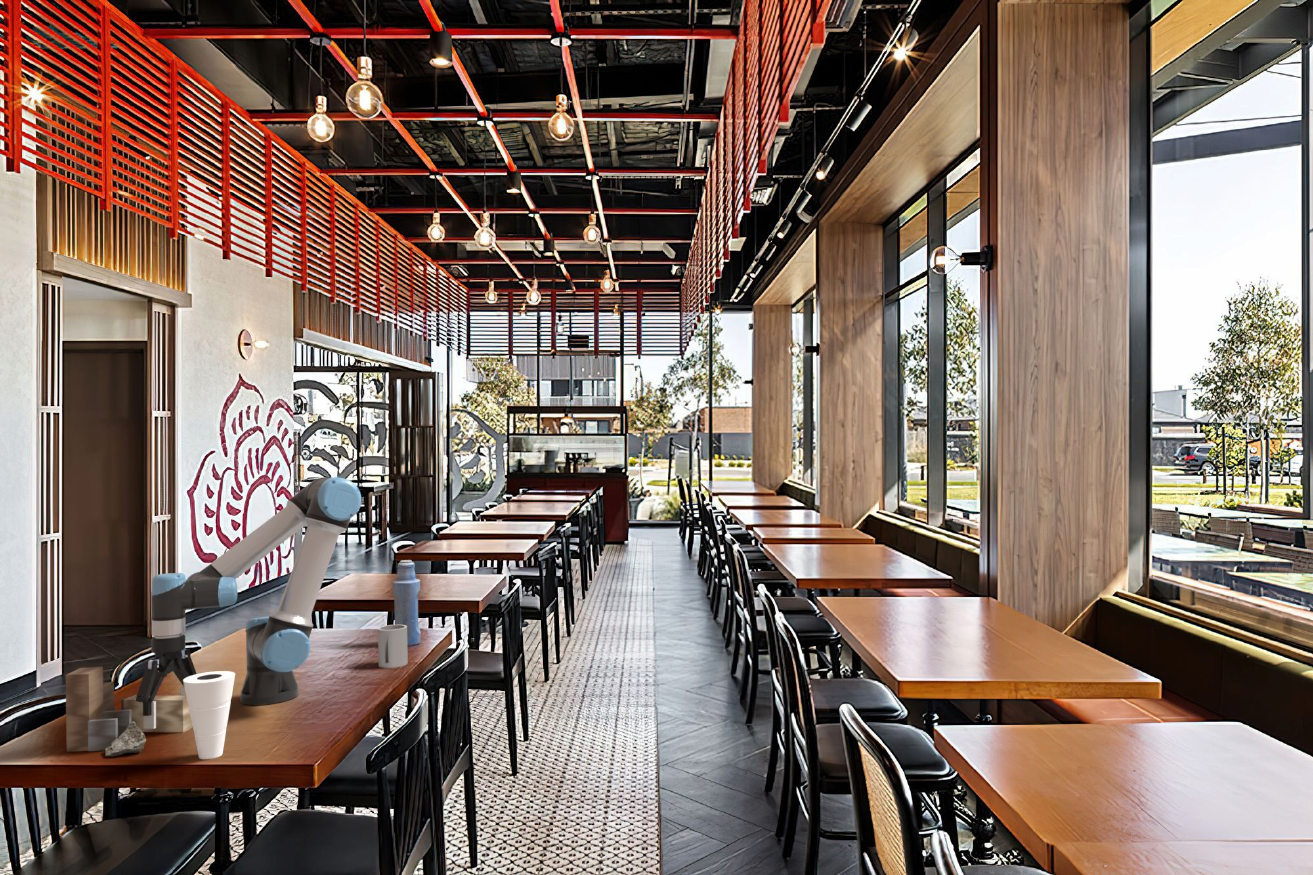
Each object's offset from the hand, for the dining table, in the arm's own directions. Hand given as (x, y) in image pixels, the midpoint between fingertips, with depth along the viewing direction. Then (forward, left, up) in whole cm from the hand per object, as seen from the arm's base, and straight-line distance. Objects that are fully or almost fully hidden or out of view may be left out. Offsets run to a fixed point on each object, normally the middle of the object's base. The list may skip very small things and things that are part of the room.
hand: (168, 719), depth 220 cm
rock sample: (+3, +16, -3) cm, 16 cm away
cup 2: (-18, +23, -3) cm, 29 cm away
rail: (+3, -1, -3) cm, 4 cm away
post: (+12, +5, -3) cm, 13 cm away
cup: (-47, -57, -3) cm, 74 cm away
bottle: (-47, -88, -3) cm, 99 cm away
